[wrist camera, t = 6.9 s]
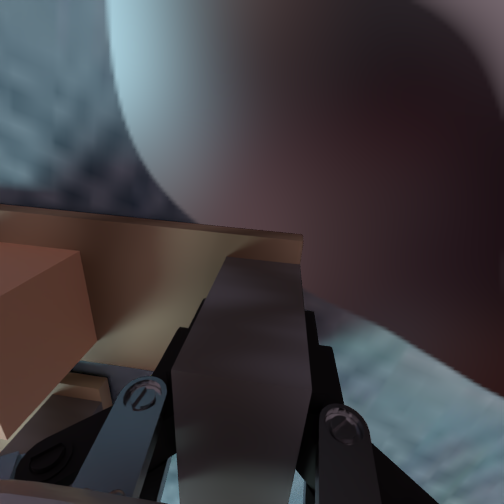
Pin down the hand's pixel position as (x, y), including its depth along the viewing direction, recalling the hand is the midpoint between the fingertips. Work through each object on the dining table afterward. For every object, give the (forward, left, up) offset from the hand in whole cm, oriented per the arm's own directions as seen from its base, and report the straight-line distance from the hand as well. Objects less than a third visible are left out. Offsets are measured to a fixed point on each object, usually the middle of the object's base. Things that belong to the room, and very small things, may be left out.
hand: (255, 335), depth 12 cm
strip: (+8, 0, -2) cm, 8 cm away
